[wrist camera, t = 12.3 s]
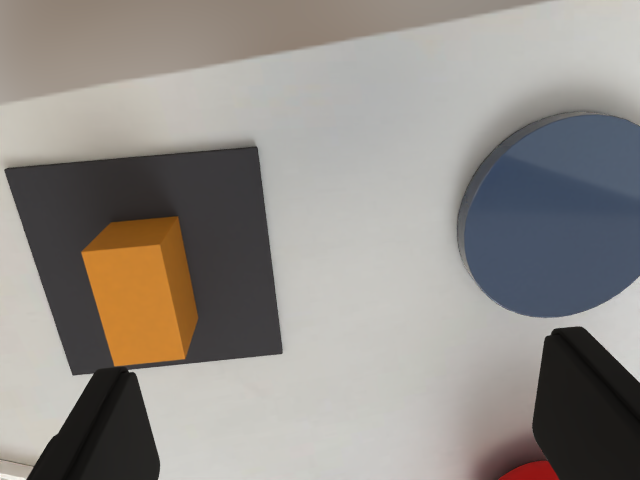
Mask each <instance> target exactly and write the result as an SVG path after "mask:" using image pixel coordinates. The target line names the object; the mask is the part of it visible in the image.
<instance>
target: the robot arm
mask: <svg viewBox="0 0 640 480" xmlns="http://www.w3.org/2000/svg"><path fill="white" fill-rule="evenodd" d="M532 429H533V434H534V437H535V440H536V442H537V444H538V445H539V447H540V449H541V450H542V452H543V453H544V455H545V457H546V458H547V460H548V462H549V463H550V465H551V467H552V468H553V470H554V472H555V473H556V475H557V476H558V478H559V480H640V383H639V382H638V381H637V380H636V379H635V378H634V377H633V376H632V375H631V374H630V373H629V372H628V371H627V370H626V369H625V368H624V367H623V366H622V365H621V364H620V363H619V362H618V361H617V360H616V359H615V358H614V357H613V356H612V355H611V354H610V353H609V352H608V351H607V350H606V349H605V348H604V347H603V346H602V345H601V344H600V343H599V342H598V341H597V340H596V339H595V338H594V337H593V336H592V335H591V334H590V333H589V332H588V331H587V330H586V329H584V328H583V327H567V328H556V329H554V330H553V331H552V333H551V335H550V336H546V338H545V341H544V347H543V354H542V361H541V368H540V374H539V381H538V388H537V395H536V402H535V409H534V416H533V423H532ZM159 472H160V460H159V456H158V452H157V449H156V445H155V441H154V438H153V434H152V430H151V427H150V423H149V419H148V416H147V412H146V408H145V405H144V401H143V397H142V394H141V390H140V386H139V383H138V379H137V376H136V374H135V373H134V372H130V373H129V372H128V369H127V368H126V367H112V368H100V369H98V370H96V371H95V373H94V374H93V376H92V378H91V379H90V381H89V383H88V384H87V386H86V388H85V389H84V391H83V393H82V394H81V396H80V398H79V399H78V401H77V403H76V404H75V406H74V408H73V409H72V411H71V413H70V414H69V416H68V418H67V419H66V421H65V423H64V424H63V426H62V428H61V429H60V431H59V433H58V434H57V435H55V436H54V437H53V438H52V439H51V440H50V442H49V443H48V444H47V446H46V448H45V449H44V451H43V453H42V454H41V456H40V458H39V459H38V461H37V463H36V464H35V466H34V467H33V469H32V471H31V472H30V474H29V476H28V477H27V479H26V480H158V477H159Z"/></svg>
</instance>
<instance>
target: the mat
mask: <svg viewBox="0 0 640 480" xmlns="http://www.w3.org/2000/svg"><path fill="white" fill-rule="evenodd" d="M4 171H5V174H6V177H7V180H8V183H9V186H10V189H11V192H12V195H13V198H14V201H15V204H16V207H17V210H18V213H19V216H20V219H21V222H22V225H23V228H24V231H25V234H26V237H27V240H28V243H29V246H30V249H31V252H32V255H33V258H34V261H35V264H36V267H37V270H38V273H39V276H40V279H41V282H42V285H43V288H44V291H45V294H46V297H47V300H48V303H49V306H50V309H51V312H52V315H53V318H54V321H55V324H56V327H57V330H58V333H59V336H60V339H61V342H62V345H63V348H64V351H65V354H66V357H67V360H68V363H69V366H70V369H71V372H72V375H82V374H92V373H95V371H96V370H98V369H100V368H112V367H126V368H127V369H128V370H131V369H140V368H150V367H160V366H169V365H179V364H189V363H198V362H208V361H218V360H227V359H237V358H247V357H256V356H266V355H276V354H282V343H281V335H280V327H279V318H278V310H277V302H276V294H275V286H274V278H273V270H272V262H271V254H270V246H269V237H268V229H267V221H266V213H265V205H264V197H263V189H262V181H261V173H260V164H259V156H258V148H257V147H248V148H236V149H224V150H213V151H201V152H190V153H178V154H166V155H155V156H143V157H132V158H120V159H109V160H97V161H85V162H74V163H62V164H51V165H39V166H28V167H16V168H7V169H5V170H4ZM175 216H178V219H179V224H180V229H181V234H182V239H183V244H184V249H185V254H186V259H187V264H188V269H189V274H190V279H191V284H192V289H193V294H194V299H195V304H196V309H197V314H198V321H197V324H196V327H195V330H194V333H193V336H192V339H191V343H190V346H189V349H188V352H187V355H186V358H185V359H181V360H172V361H162V362H152V363H143V364H133V365H124V366H114V363H113V360H112V356H111V353H110V349H109V346H108V342H107V339H106V336H105V332H104V329H103V325H102V322H101V318H100V315H99V311H98V308H97V305H96V301H95V298H94V294H93V291H92V287H91V284H90V281H89V277H88V274H87V270H86V267H85V263H84V260H83V257H82V253H81V252H82V251H83V250H84V249H85V248H86V247H87V246H88V245H89V244H90V243H91V242H92V241H93V240H94V239H95V238H96V237H97V236H98V235H99V234H100V233H101V232H102V231H103V230H104V229H105V228H106V227H107V226H108V225H109V224H110V223H111V222H121V221H132V220H143V219H153V218H164V217H175Z"/></svg>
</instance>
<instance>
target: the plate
mask: <svg viewBox="0 0 640 480" xmlns="http://www.w3.org/2000/svg"><path fill="white" fill-rule="evenodd" d="M457 234H458V245H459V251H460V254H461V257H462V260H463V263H464V265H465V267H466V269H467V271H468V273H469V274H470V276H471V277H472V279H473V280H474V281H475V283H476V284H477V285H478V286H479V287H480V289H481V290H482V291H483V292H484V293H485V294H486V295H487V296H488V297H489V298H490V299H491V300H493V301H494V302H496V303H497V304H498V305H500V306H502V307H504V308H506V309H507V310H509V311H512V312H515V313H518V314H521V315H526V316H531V317H541V318H552V317H562V316H569V315H573V314H577V313H580V312H584V311H586V310H589V309H591V308H594V307H596V306H598V305H600V304H602V303H604V302H606V301H608V300H610V299H611V298H613V297H614V296H616V295H618V294H619V293H620V292H622V291H623V290H624V289H626V288H627V287H628V286H629V285H631V284H632V283H633V282H634V281H635V280H636V279H637V278H638V277H639V276H640V126H639V125H637V124H635V123H633V122H630V121H628V120H626V119H622V118H619V117H615V116H611V115H606V114H601V113H594V112H569V113H562V114H557V115H553V116H550V117H547V118H543V119H541V120H539V121H536V122H534V123H532V124H529V125H528V126H526V127H524V128H522V129H521V130H519V131H517V132H515V133H514V134H513V135H511V136H510V137H509V138H507V139H506V140H505V141H503V142H502V143H501V144H500V145H499V146H498V147H497V148H496V149H495V150H493V151H492V152H491V154H490V155H489V156H488V157H487V158H486V159H485V161H484V162H483V163H482V164H481V166H480V167H479V169H478V170H477V172H476V173H475V174H474V176H473V178H472V180H471V182H470V184H469V185H468V187H467V190H466V192H465V195H464V197H463V200H462V203H461V208H460V212H459V217H458V226H457Z"/></svg>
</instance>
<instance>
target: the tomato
mask: <svg viewBox="0 0 640 480" xmlns="http://www.w3.org/2000/svg"><path fill="white" fill-rule="evenodd" d="M498 480H559V478H558V476H557V475H556V473H555V472H554V470H553V468H552V467H551V465H550V463H549V462H548V461H536V462H531V463H527V464H524V465H521V466H519V467H517V468H515V469H513V470H511V471H510V472H508V473H506V474H505V475H503V476H502V477H500V478H499V479H498Z"/></svg>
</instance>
